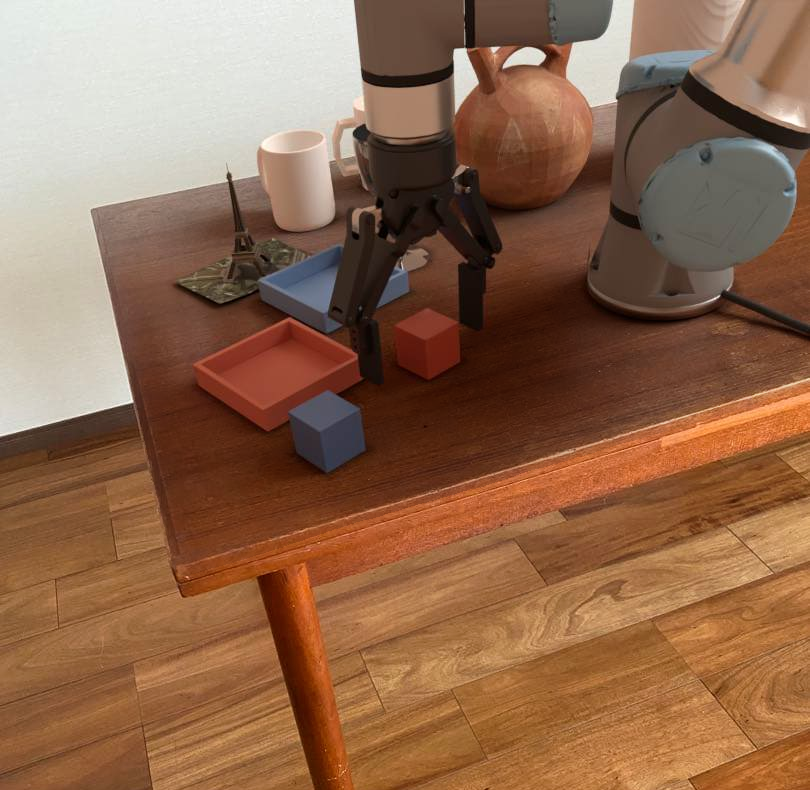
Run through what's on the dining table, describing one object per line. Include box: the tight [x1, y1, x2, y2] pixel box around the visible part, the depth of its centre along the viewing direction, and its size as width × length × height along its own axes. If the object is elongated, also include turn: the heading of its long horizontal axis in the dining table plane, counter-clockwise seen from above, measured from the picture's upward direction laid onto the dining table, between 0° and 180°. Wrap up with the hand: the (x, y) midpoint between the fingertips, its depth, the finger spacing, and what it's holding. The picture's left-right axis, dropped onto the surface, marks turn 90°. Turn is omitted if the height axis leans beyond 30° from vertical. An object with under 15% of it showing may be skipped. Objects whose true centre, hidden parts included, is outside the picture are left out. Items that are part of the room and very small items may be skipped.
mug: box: [331, 94, 370, 192], centre depth 122 cm, size 14×10×11 cm
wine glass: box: [351, 123, 430, 272], centre depth 102 cm, size 8×8×15 cm
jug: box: [452, 43, 595, 211], centre depth 113 cm, size 18×18×20 cm
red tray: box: [192, 317, 365, 433], centre depth 88 cm, size 12×12×2 cm
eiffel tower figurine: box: [174, 162, 311, 305], centre depth 103 cm, size 15×10×13 cm
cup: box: [256, 129, 336, 233], centre depth 116 cm, size 8×12×10 cm
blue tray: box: [258, 242, 410, 335], centre depth 101 cm, size 12×12×2 cm
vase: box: [628, 0, 745, 62], centre depth 112 cm, size 14×14×32 cm
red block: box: [393, 307, 461, 381], centre depth 88 cm, size 4×4×4 cm
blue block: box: [288, 390, 367, 474], centre depth 78 cm, size 4×4×4 cm
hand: (423, 352), depth 88 cm, fingers open, 13 cm apart
